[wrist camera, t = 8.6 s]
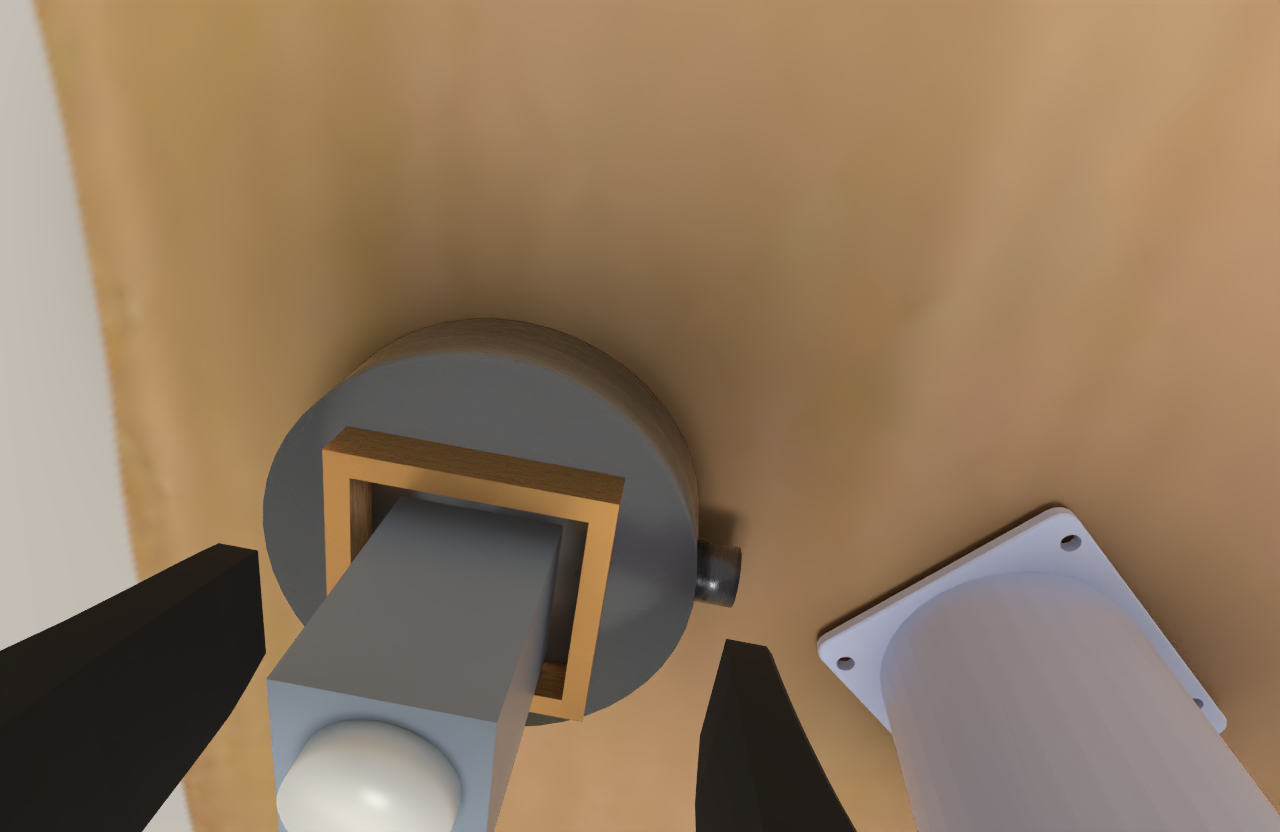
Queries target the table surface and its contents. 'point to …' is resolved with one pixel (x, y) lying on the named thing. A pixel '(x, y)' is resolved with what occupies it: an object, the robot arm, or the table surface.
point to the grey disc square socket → (511, 490)
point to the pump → (415, 675)
